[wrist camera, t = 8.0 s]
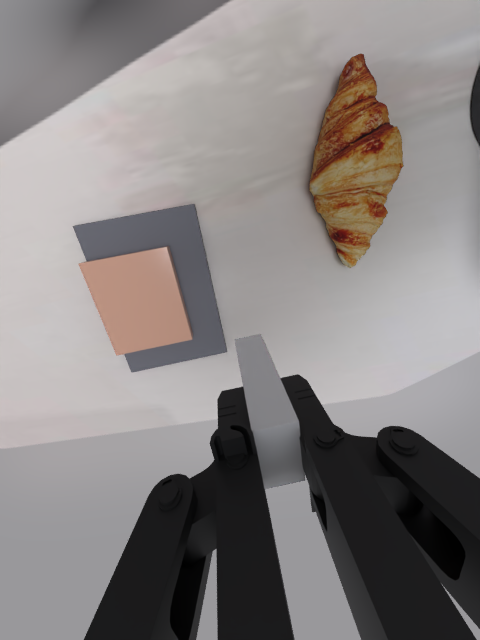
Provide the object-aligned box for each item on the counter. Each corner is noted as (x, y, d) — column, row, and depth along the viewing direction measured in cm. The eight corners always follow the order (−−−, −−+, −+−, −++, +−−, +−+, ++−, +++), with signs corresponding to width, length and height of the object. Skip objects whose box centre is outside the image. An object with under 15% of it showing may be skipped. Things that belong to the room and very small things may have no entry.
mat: (194, 204, 29) (194, 203, 29) (226, 349, 37) (226, 352, 36) (76, 226, 29) (72, 226, 28) (133, 369, 36) (131, 372, 35)
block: (166, 246, 28) (78, 263, 28) (192, 339, 32) (116, 355, 32) (169, 245, 30) (86, 261, 29) (193, 333, 34) (121, 348, 34)
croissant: (350, 257, 38) (408, 259, 31) (306, 275, 33) (363, 282, 27) (349, 81, 30) (427, 35, 23) (290, 72, 25) (367, 11, 18)
